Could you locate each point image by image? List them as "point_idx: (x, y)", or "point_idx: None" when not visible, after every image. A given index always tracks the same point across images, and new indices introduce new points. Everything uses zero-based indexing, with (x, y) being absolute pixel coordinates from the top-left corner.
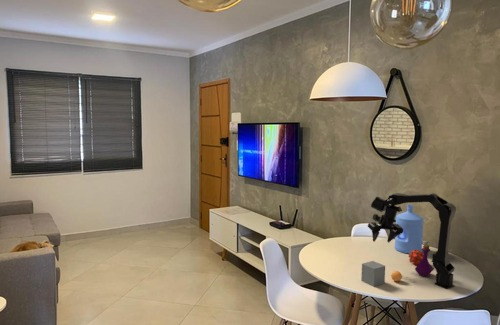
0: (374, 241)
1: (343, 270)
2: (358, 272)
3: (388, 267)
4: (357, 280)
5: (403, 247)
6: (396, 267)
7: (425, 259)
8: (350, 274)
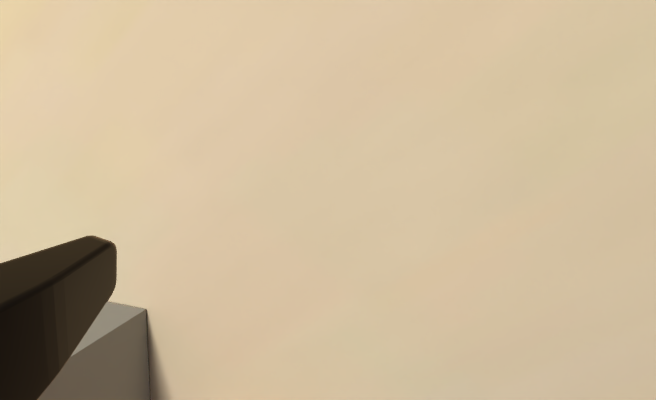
0: (95, 302)
1: (33, 15)
2: (123, 145)
3: (542, 266)
4: (9, 259)
5: None
6: (641, 335)
7: None
8: (32, 133)
